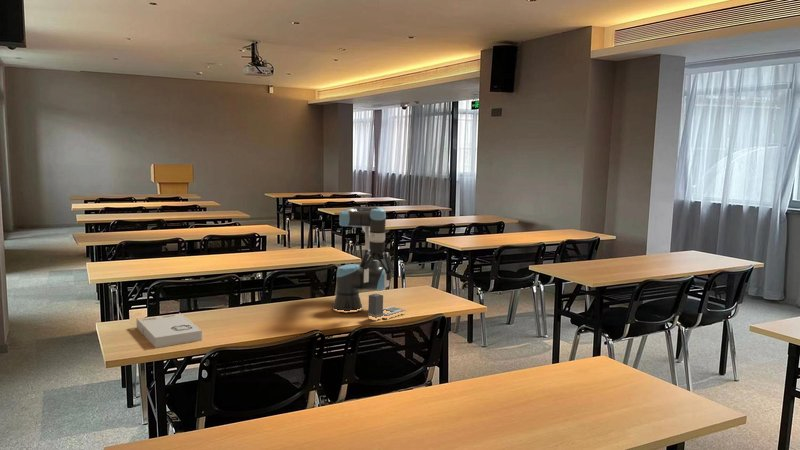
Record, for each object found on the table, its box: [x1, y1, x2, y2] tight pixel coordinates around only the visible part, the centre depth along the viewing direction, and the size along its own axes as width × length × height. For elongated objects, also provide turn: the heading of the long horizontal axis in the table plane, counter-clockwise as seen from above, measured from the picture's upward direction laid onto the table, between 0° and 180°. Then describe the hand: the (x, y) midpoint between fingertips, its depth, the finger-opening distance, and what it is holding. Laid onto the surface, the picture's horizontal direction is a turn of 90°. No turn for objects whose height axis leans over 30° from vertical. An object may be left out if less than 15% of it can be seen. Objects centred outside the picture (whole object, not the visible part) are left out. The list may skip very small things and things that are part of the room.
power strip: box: [383, 305, 406, 316], centre depth 293 cm, size 9×14×3 cm, turn 140°
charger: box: [367, 293, 384, 318], centre depth 284 cm, size 5×5×12 cm
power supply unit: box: [135, 312, 203, 349], centre depth 253 cm, size 19×33×5 cm, turn 36°
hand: (376, 284), depth 283 cm, fingers open, 13 cm apart
